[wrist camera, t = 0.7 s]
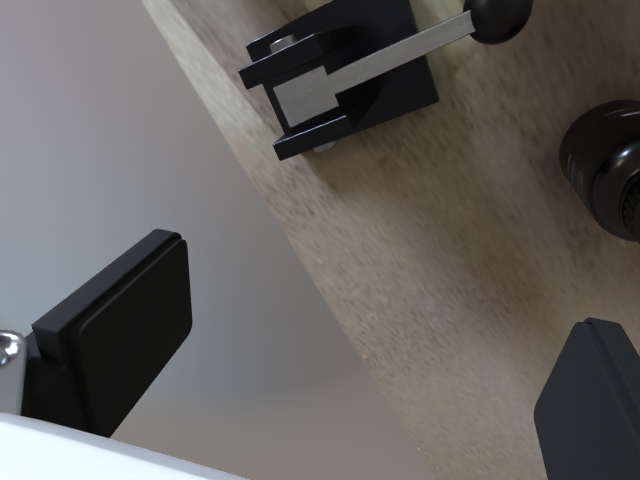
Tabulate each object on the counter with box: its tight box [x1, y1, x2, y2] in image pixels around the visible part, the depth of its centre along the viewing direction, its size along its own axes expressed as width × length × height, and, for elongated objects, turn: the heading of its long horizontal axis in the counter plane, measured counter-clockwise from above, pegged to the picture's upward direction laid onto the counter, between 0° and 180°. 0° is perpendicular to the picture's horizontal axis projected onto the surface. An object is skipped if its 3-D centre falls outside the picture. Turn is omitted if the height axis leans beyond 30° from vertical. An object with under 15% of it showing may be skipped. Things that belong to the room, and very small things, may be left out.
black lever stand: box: [238, 0, 439, 161], centre depth 27 cm, size 12×9×13 cm
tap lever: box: [273, 0, 533, 128], centre depth 23 cm, size 14×3×3 cm, turn 114°
